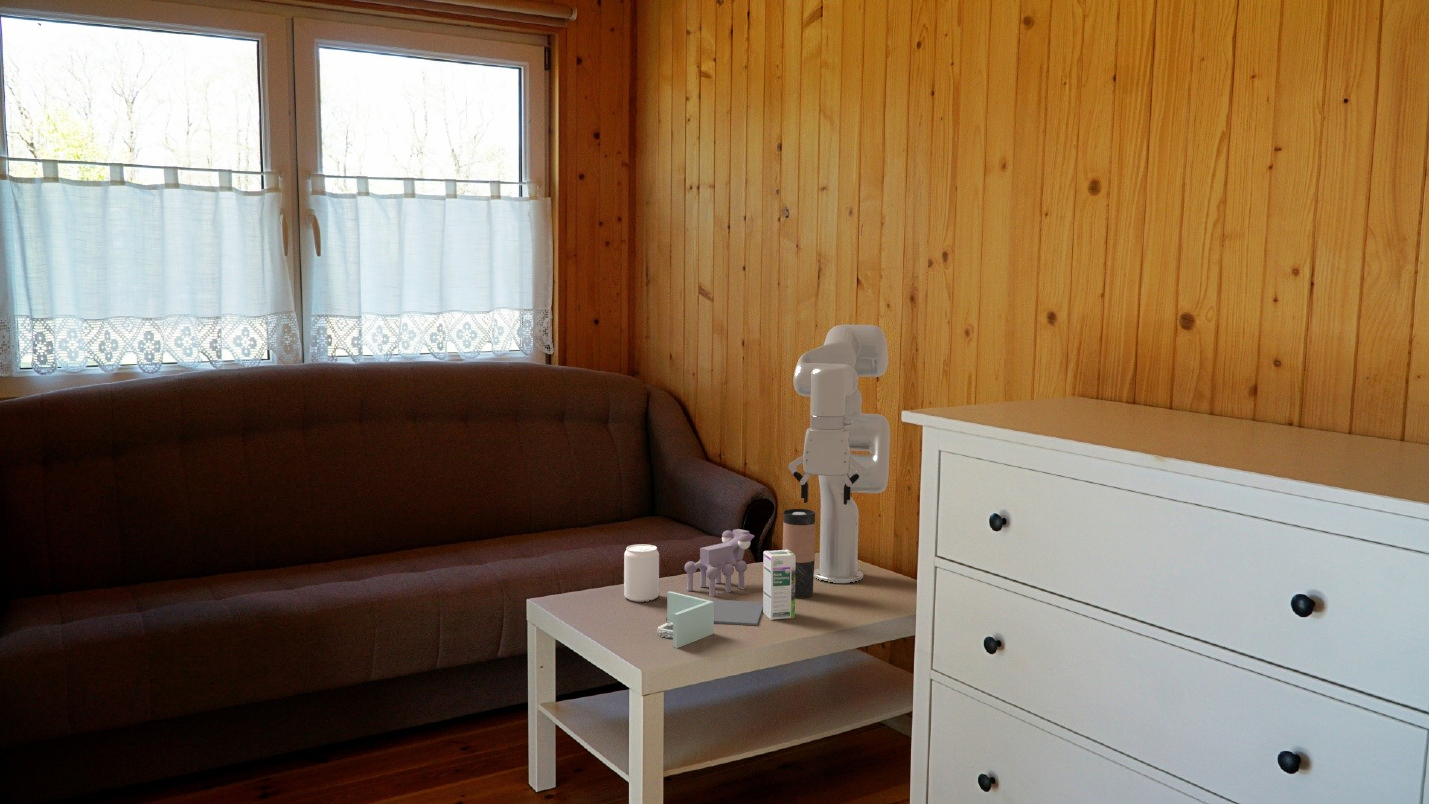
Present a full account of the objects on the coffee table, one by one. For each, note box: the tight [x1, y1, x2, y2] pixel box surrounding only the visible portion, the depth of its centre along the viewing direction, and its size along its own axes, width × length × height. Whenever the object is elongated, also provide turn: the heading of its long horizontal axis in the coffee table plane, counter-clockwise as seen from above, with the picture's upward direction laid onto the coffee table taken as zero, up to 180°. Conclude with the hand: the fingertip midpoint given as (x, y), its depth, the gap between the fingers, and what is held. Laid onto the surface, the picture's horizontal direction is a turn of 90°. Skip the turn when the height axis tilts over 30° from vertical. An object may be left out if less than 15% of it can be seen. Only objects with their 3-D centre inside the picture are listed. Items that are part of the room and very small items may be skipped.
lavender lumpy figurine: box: [684, 528, 755, 598], centre depth 262 cm, size 20×11×14 cm, turn 134°
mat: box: [665, 598, 763, 627], centre depth 241 cm, size 16×20×1 cm
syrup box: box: [762, 549, 796, 621], centre depth 238 cm, size 6×6×14 cm
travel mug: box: [782, 508, 816, 599], centre depth 255 cm, size 8×8×20 cm
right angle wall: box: [656, 590, 714, 649], centre depth 225 cm, size 12×12×8 cm
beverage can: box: [623, 543, 660, 603], centre depth 251 cm, size 8×8×12 cm
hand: (825, 502), depth 235 cm, fingers open, 8 cm apart
